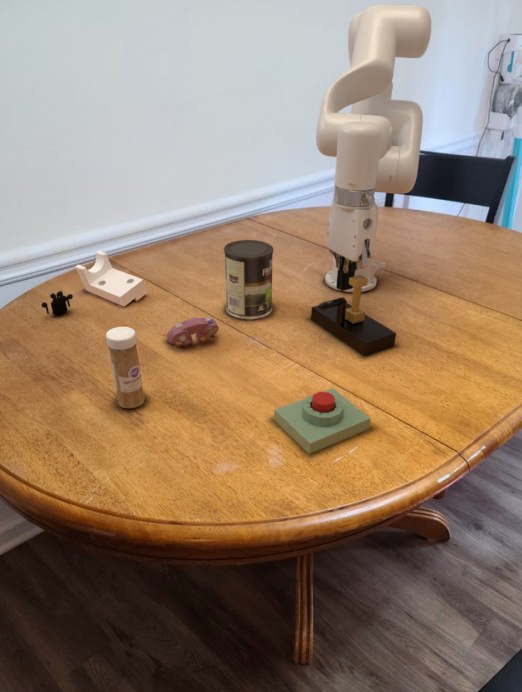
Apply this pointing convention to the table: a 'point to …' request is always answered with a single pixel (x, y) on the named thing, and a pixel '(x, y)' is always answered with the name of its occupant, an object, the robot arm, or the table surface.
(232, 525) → the table surface
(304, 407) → the block
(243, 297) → the coffee can
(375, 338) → the tap base
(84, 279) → the bracket
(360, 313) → the tap handle
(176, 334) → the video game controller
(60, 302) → the wireless earbuds
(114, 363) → the sprinkles bottle
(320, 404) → the button
